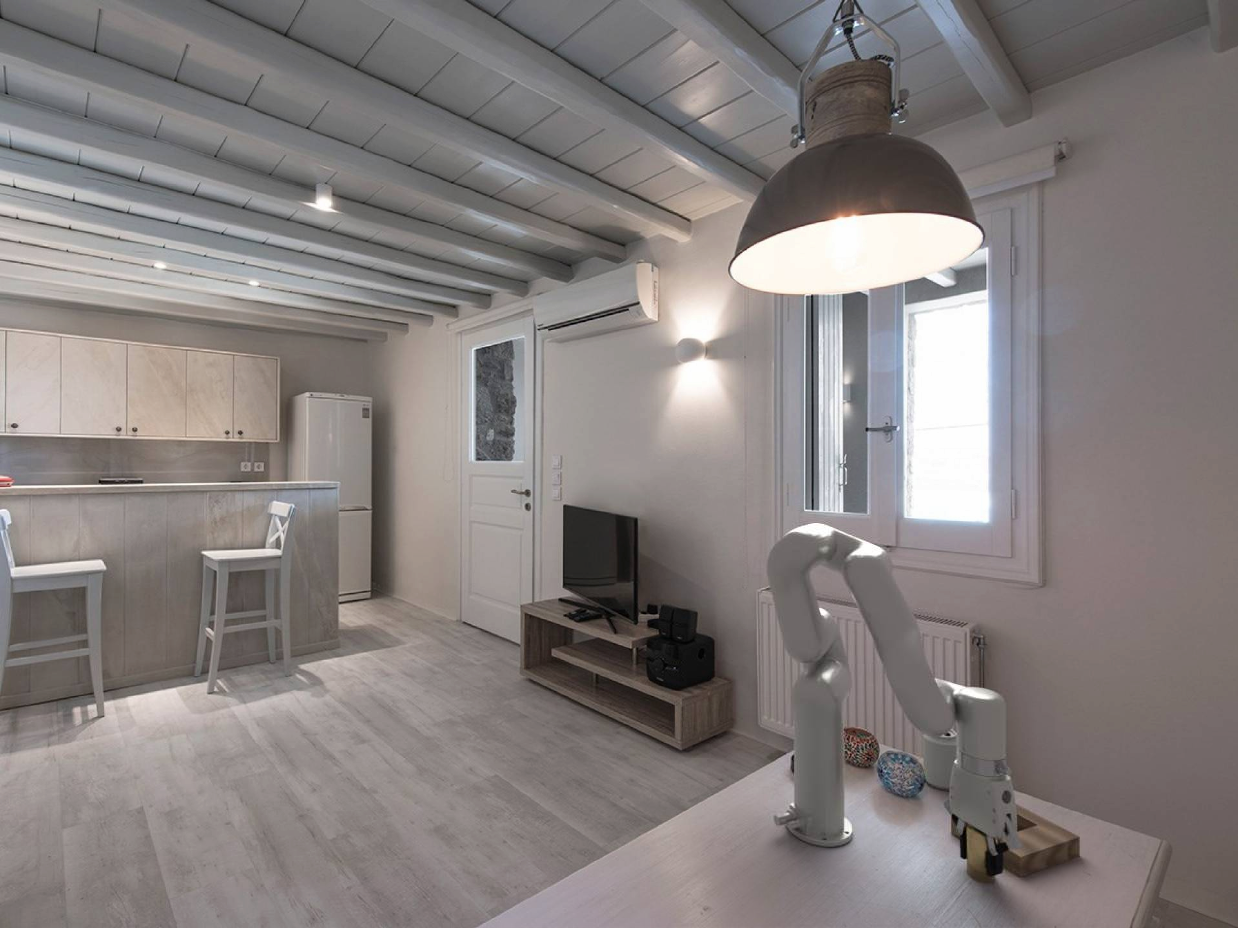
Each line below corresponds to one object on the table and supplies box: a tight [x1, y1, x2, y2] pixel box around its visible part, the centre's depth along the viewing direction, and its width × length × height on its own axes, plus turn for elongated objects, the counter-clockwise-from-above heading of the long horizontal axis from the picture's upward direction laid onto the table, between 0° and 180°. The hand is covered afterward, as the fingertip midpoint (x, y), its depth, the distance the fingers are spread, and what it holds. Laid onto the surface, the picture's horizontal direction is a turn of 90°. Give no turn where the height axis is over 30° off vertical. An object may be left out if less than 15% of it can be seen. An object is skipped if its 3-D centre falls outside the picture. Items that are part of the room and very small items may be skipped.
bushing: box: [966, 823, 997, 884], centre depth 109 cm, size 4×4×8 cm
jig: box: [950, 803, 1081, 878], centre depth 118 cm, size 16×14×4 cm
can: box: [922, 728, 957, 791], centre depth 141 cm, size 8×8×12 cm
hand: (980, 864), depth 109 cm, fingers closed on bushing, 4 cm apart
